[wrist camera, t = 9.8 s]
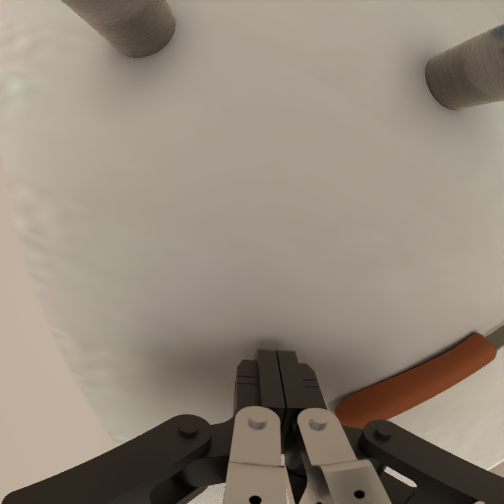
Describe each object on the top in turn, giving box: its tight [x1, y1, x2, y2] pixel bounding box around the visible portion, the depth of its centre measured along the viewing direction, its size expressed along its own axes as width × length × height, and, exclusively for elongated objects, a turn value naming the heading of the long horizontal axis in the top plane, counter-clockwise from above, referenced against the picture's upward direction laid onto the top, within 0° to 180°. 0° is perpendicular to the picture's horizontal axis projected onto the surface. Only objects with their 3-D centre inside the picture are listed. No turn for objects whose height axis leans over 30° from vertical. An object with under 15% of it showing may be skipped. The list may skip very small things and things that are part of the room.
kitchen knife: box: [335, 325, 504, 429], centre depth 13 cm, size 16×1×2 cm, turn 112°
